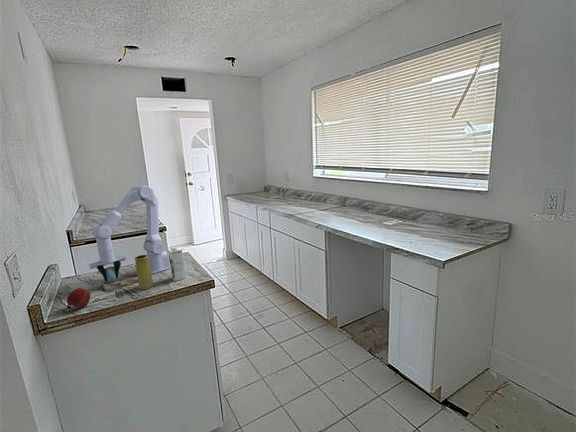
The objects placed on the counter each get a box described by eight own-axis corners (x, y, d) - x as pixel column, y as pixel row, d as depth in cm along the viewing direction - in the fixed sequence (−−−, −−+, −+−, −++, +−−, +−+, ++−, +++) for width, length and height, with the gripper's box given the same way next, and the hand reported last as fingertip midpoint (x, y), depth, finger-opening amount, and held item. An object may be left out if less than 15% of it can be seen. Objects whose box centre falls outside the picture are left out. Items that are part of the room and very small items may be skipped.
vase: (150, 282, 140) (145, 253, 137) (155, 286, 135) (150, 256, 132) (137, 287, 136) (131, 257, 133) (141, 290, 131) (136, 260, 128)
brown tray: (136, 274, 150) (135, 270, 150) (141, 281, 142) (141, 276, 142) (101, 284, 141) (100, 280, 141) (105, 291, 133) (104, 287, 132)
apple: (92, 307, 119) (88, 289, 117) (68, 314, 115) (64, 295, 113) (92, 300, 125) (88, 282, 124) (69, 306, 121) (65, 288, 120)
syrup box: (171, 277, 144) (166, 248, 141) (184, 274, 146) (180, 246, 143) (173, 281, 139) (168, 252, 136) (186, 278, 142) (182, 249, 138)
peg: (116, 279, 142) (114, 265, 140) (117, 282, 138) (114, 268, 137) (107, 282, 139) (104, 268, 138) (107, 284, 136) (104, 270, 135)
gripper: (121, 245, 143) (126, 271, 146) (85, 253, 134) (92, 281, 137) (125, 248, 138) (130, 275, 141) (87, 256, 129) (94, 286, 132)
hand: (111, 278), depth 139 cm, fingers closed on peg, 4 cm apart
